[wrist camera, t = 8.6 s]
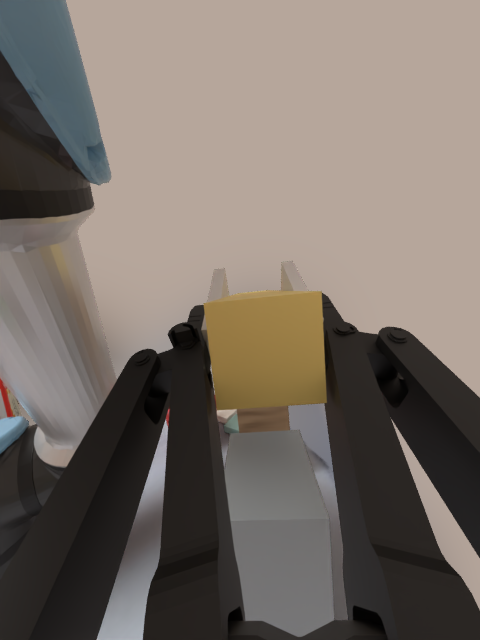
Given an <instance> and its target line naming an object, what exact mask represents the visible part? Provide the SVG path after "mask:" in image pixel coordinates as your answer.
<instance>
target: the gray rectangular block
mask: <svg viewBox="0 0 480 640" xmlns="http://www.w3.org/2000/svg"><path fill="white" fill-rule="evenodd" d="M224 474H225V482H226V489H227V497H228V505H229V513H230V521H231V528H232V536H233V544H234V551H235V556H236V561H237V565H238V570H239V575H240V582H241V589H242V596H243V604H244V611H245V619H246V621H264V622H266V623H268V624H271V625H273V626H275V627H277V628H279V629H282V630H284V631H286V632H288V633H290V634H292V635H295V636H297V637H302V636H304V635H306V634H308V633H310V632H312V631H314V630H316V629H318V628H320V627H322V626H324V625H326V624H328V623H330V622H331V621H333V620H334V604H333V582H332V561H331V539H330V518H329V515H328V513H327V510H326V507H325V504H324V501H323V498H322V495H321V492H320V489H319V486H318V483H317V480H316V477H315V474H314V471H313V469H312V466H311V463H310V460H309V457H308V454H307V451H306V448H305V445H304V442H303V439H302V436H301V433H300V430H287V431H269V432H250V433H231V434H230V437H229V444H228V451H227V458H226V464H225V471H224Z"/></svg>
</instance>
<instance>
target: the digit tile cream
mask: <svg viewBox="0 0 480 640" xmlns="http://www.w3.org/2000/svg"><path fill="white" fill-rule="evenodd" d="M235 414H237V409H232V410H217V419H218V421H219V422H221V423H224V424H226V423H227V422H228V421H229V420H230V419H231V418H232V417H233V416H234V415H235Z"/></svg>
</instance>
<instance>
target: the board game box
mask: <svg viewBox="0 0 480 640" xmlns="http://www.w3.org/2000/svg"><path fill="white" fill-rule="evenodd" d="M16 416H22V415H21V411H20V407H19V403H18V400H17V399H16V398H15V396H14V395H13V394H12V393H11V391H10V390H9V389H8V388H7V386H6V385H5V384H4V383H3V381H2V380H1V379H0V419H4V418H8V417H16Z"/></svg>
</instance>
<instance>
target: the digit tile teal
mask: <svg viewBox="0 0 480 640" xmlns="http://www.w3.org/2000/svg"><path fill="white" fill-rule="evenodd" d="M224 431H225V432H226V433H228V434H231V433H239V426H238V417H237V414H235V415H234V416H233V417H232V418H231V419H230V420H229V421H228V422H227V423H226V424H225V425H224Z"/></svg>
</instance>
